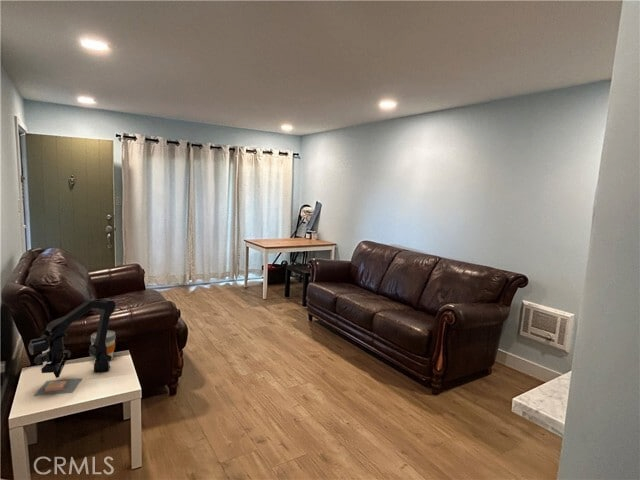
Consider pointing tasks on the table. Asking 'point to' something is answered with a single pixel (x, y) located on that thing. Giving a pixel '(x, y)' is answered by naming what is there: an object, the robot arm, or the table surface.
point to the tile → (56, 386)
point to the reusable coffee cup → (107, 341)
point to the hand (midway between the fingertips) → (57, 377)
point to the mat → (68, 388)
